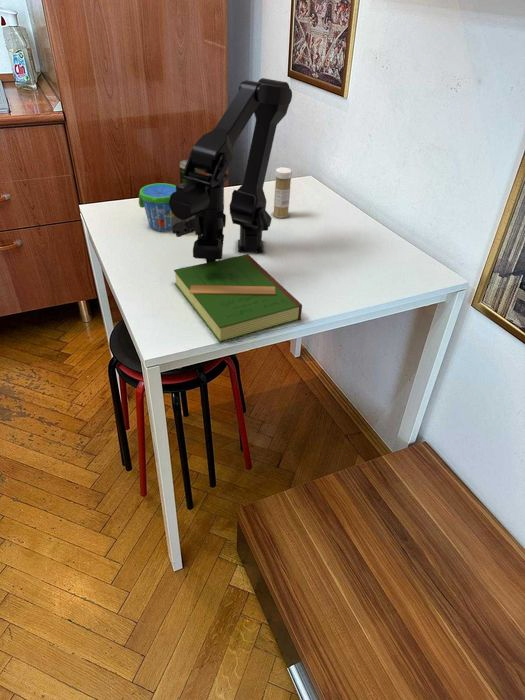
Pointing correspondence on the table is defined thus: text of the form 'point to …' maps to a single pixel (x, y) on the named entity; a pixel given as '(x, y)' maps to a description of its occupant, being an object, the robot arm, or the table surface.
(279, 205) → the sprinkles bottle
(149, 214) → the snack cup
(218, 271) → the hardcover book
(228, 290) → the ruler
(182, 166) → the green spice jar
